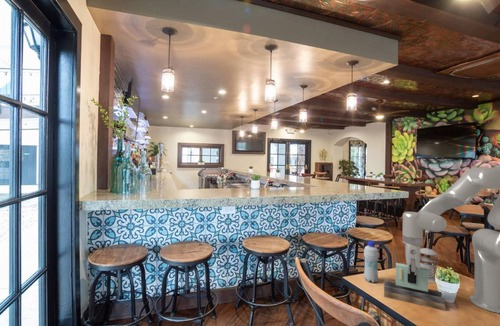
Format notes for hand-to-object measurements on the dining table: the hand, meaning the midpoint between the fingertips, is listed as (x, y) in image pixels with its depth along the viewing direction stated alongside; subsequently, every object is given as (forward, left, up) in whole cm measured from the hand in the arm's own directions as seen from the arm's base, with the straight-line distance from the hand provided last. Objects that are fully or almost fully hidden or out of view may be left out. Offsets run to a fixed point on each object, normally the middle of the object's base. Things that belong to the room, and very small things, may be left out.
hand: (411, 280), depth 112 cm
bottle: (+17, -8, -7) cm, 20 cm away
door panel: (0, 0, -3) cm, 3 cm away
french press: (-9, -26, -7) cm, 29 cm away
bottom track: (0, 0, -7) cm, 7 cm away
